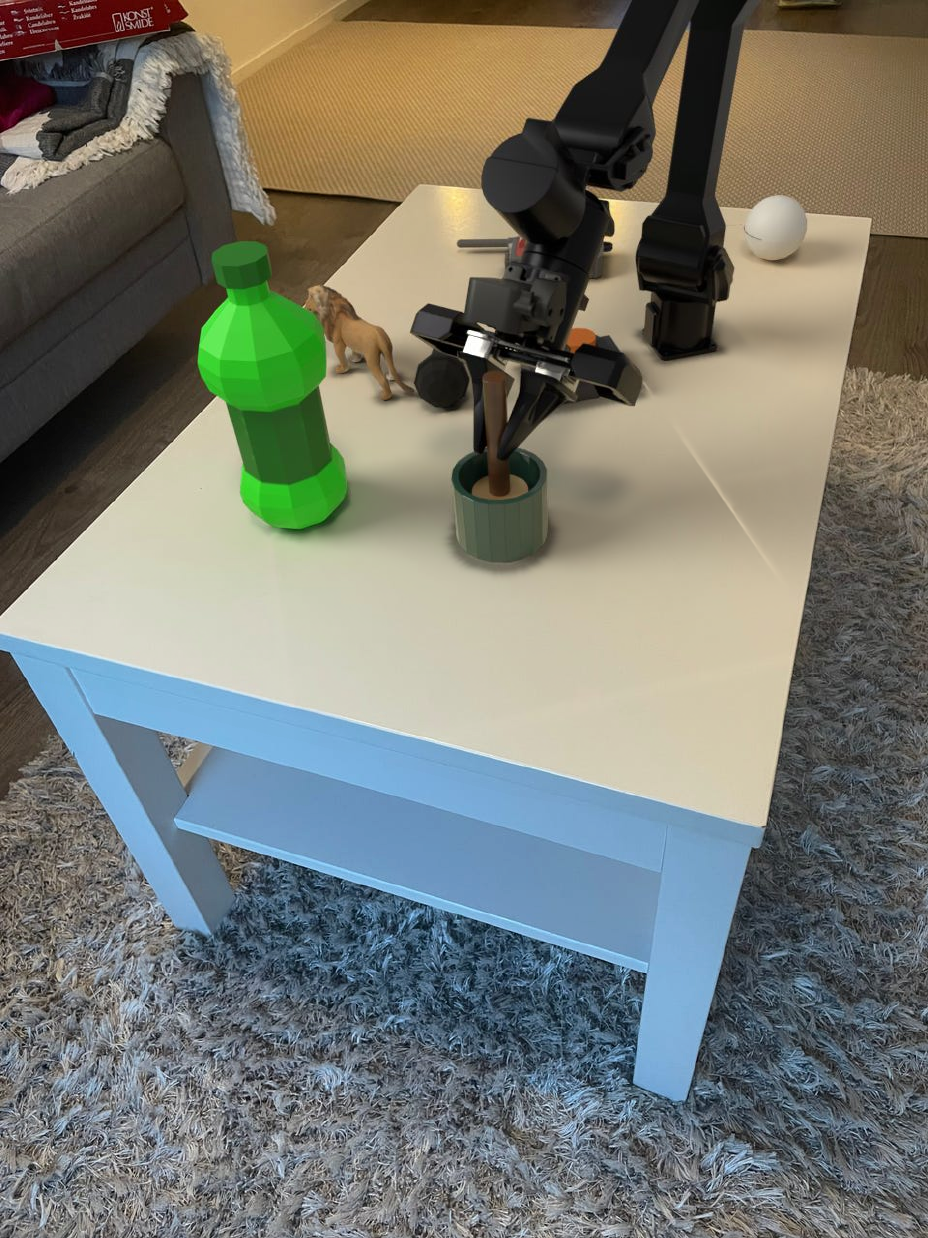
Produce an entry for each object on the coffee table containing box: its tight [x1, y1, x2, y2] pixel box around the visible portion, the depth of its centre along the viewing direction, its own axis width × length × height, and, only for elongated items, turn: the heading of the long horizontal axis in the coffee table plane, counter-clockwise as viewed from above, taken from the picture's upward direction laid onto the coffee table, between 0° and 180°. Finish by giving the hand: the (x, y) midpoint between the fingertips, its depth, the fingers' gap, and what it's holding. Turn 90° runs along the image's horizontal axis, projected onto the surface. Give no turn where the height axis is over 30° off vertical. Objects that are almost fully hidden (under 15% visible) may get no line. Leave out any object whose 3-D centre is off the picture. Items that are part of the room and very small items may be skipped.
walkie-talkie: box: [456, 234, 614, 279], centre depth 120 cm, size 9×4×20 cm
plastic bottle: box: [197, 240, 348, 530], centre depth 81 cm, size 10×10×25 cm
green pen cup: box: [450, 447, 549, 564], centre depth 83 cm, size 8×8×7 cm
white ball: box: [726, 194, 808, 261], centre depth 117 cm, size 10×7×7 cm
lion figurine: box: [303, 284, 416, 401], centre depth 103 cm, size 15×5×9 cm, turn 50°
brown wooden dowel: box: [472, 371, 528, 500], centre depth 79 cm, size 5×5×14 cm
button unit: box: [520, 334, 621, 406], centre depth 101 cm, size 10×9×4 cm
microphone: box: [413, 348, 470, 408], centre depth 105 cm, size 6×6×20 cm
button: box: [567, 327, 597, 353], centre depth 99 cm, size 4×4×2 cm
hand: (488, 456), depth 78 cm, fingers closed on brown wooden dowel, 2 cm apart
